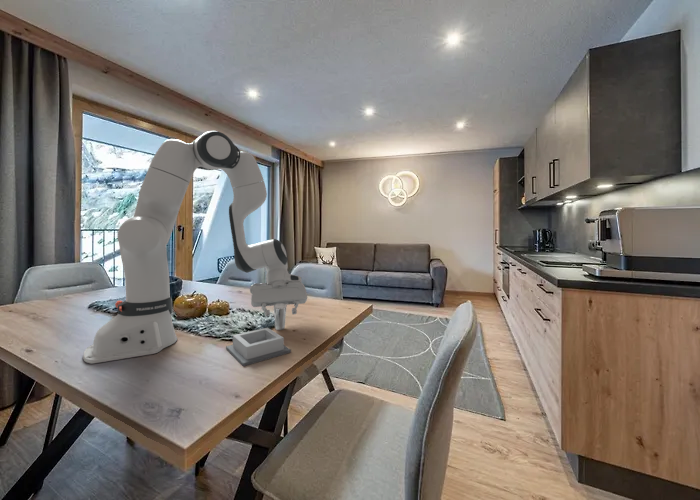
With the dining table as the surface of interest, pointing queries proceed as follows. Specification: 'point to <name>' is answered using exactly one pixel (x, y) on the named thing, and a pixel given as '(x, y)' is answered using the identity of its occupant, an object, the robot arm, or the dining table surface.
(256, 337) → the sleeve housing
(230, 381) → the dining table surface
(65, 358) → the dining table surface
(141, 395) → the dining table surface
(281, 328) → the milkshake
